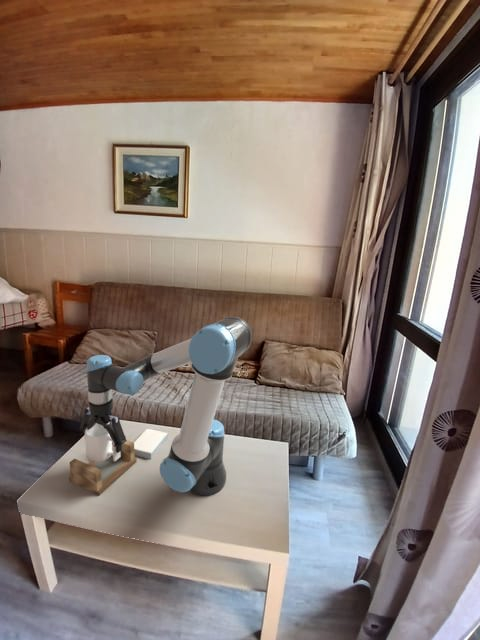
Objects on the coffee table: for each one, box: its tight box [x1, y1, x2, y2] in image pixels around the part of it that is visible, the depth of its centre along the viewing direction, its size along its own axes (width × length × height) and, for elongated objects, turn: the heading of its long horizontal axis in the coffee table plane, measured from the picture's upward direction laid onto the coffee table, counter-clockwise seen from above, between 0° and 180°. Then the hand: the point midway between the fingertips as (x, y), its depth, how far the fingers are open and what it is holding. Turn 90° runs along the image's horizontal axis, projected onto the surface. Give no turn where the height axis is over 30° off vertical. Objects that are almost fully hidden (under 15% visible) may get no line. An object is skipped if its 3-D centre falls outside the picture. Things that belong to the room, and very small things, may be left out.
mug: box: [84, 423, 114, 463], centre depth 110 cm, size 9×12×11 cm
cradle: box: [68, 439, 137, 496], centre depth 112 cm, size 14×18×8 cm
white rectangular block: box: [134, 428, 169, 460], centre depth 128 cm, size 10×14×3 cm
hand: (103, 453), depth 111 cm, fingers closed on mug, 12 cm apart
